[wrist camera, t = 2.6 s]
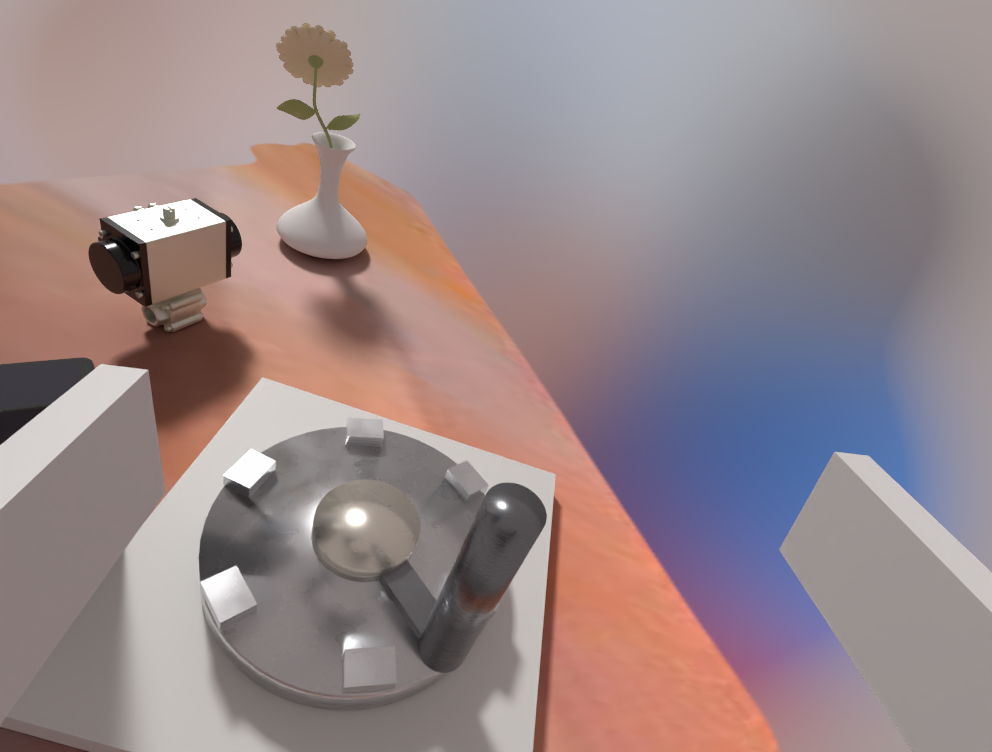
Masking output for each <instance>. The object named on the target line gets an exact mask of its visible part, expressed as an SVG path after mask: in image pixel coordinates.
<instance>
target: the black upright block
mask: <svg viewBox="0 0 992 752" xmlns="http://www.w3.org/2000/svg"><path fill="white" fill-rule="evenodd" d="M94 369H95V368H94V364H93V362H92V361H91V360H90V359H88V358H71V359H59V360H48V361H36V362H25V363H13V364H1V365H0V445H1V444H2V443H4V442H5V441H6V440H7V439H8V438H10V437H11V436H12V435H13V434H15V433H16V432H17V431H18V430H20V429H21V428H22V427H23V426H25V425H26V424H27V423H28V422H30V421H31V420H32V419H33V418H35V417H36V416H37V415H38V414H40V413H41V412H42V411H43V410H45V409H46V408H47V407H48V406H49V405H51V404H52V403H53V402H54V401H56V400H57V399H58V398H59V397H61V396H62V395H63V394H64V393H66V392H67V391H68V390H69V389H71V388H72V387H73V386H74V385H76V384H77V383H78V382H79V381H81V380H82V379H83V378H84V377H85V376H87V375H88V374H89V373H90V372H92V371H93V370H94Z"/></svg>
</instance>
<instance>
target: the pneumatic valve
mask: <svg viewBox="0 0 992 752" xmlns="http://www.w3.org/2000/svg"><path fill="white" fill-rule="evenodd" d="M100 224H101V231H99V235H100V237H98V240H99V242H95V243H92V244H91V245H90V247H89V260H90V263H91V266H92V268H93V271H94V272H95V274H96V276H97V278H98V279H99V280H100V282H101V283H102V284H103V285H104V286H105V287H106V288H107V289H108V290H109V291H111V292H113V293H115V294H122V293H126V294H127V295H129V296H130V297H131V298H133V299H134V300H136V301H137V302H139V303H140V304H142V313H143V315H144V317H145V319H146V320H147V321H148V322H149V323H150V324H151V325H153V326H159V325H163V326H165V327H164V330H165V331H167V332H169V331H170V332H175V331H177V330H180V329H182V328H185V327H187V326H189V325H192V324H194V323H197V322H199V321H202V318H203V317H204V316H203V314H202V313H201V309H202V308H203V307H205V305H206V297H205V295H204V293H203V291H202V290H201V289H200V287H203V286H206V285H209V284H212V283H214V282H217V281H220V280H223V279H226V278H228V277H231V267H232V266H233V264H232V262H231V258H232V257H235V256H237V255H238V254H239V253H240V251H241V248H242V241H241V236H240V233H239V230H238V228H237V226H236V225H235V223H234V222H233V221H232V220H231V219H230V218H229V217H228V216H227V215H225V214H223V213H219V212H217V211H216V210H214V209H213V208H211V207H209V206H208V205H206V204H204V203H203V202H201V201H200V200H198V199H196V198H194V199H190V200H185V201H180V202H176V203H171V204H166V205H162V206H157V205H156V204H155V203H151V204H149V205H148V209H142V207H140V206H136V207H135V208H134V209H133V212H129V213H124V214H120V215H115V216H110V217H106V218H101V219H100Z"/></svg>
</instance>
